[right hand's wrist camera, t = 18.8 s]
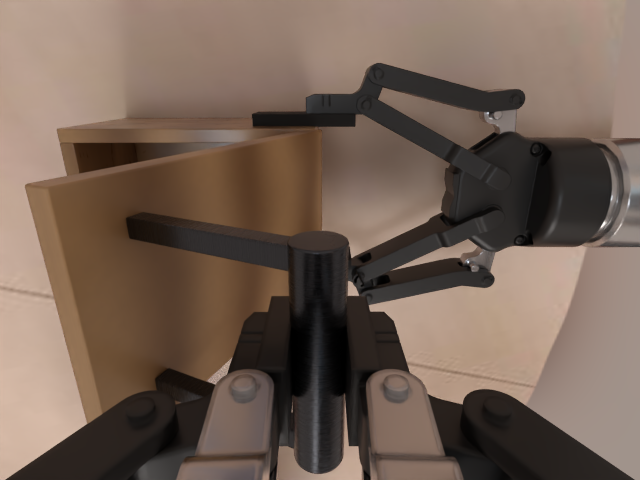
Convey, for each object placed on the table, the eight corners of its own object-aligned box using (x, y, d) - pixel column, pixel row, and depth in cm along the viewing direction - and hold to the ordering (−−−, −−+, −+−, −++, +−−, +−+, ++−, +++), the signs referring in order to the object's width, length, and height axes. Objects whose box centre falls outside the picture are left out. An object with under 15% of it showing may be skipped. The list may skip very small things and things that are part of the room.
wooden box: (143, 226, 36) (87, 269, 28) (125, 118, 33) (56, 128, 24) (318, 227, 36) (316, 270, 27) (317, 118, 33) (315, 128, 24)
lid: (95, 457, 14) (305, 569, 10) (22, 184, 10) (297, 225, 7) (309, 272, 27) (429, 296, 24) (307, 128, 24) (446, 135, 21)
